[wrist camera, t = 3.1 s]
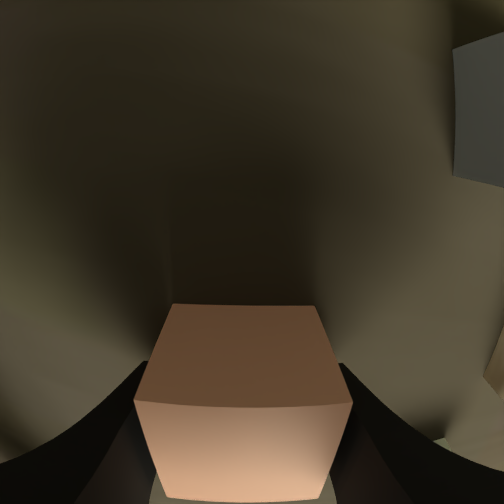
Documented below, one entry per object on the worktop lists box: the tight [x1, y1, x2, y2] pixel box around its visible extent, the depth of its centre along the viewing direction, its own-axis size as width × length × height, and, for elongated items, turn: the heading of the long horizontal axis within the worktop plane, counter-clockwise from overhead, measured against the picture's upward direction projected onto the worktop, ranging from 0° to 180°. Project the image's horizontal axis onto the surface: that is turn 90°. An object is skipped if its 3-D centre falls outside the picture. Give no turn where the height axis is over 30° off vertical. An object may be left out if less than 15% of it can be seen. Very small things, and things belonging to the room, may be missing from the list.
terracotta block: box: [134, 304, 353, 502], centre depth 9 cm, size 4×4×4 cm
